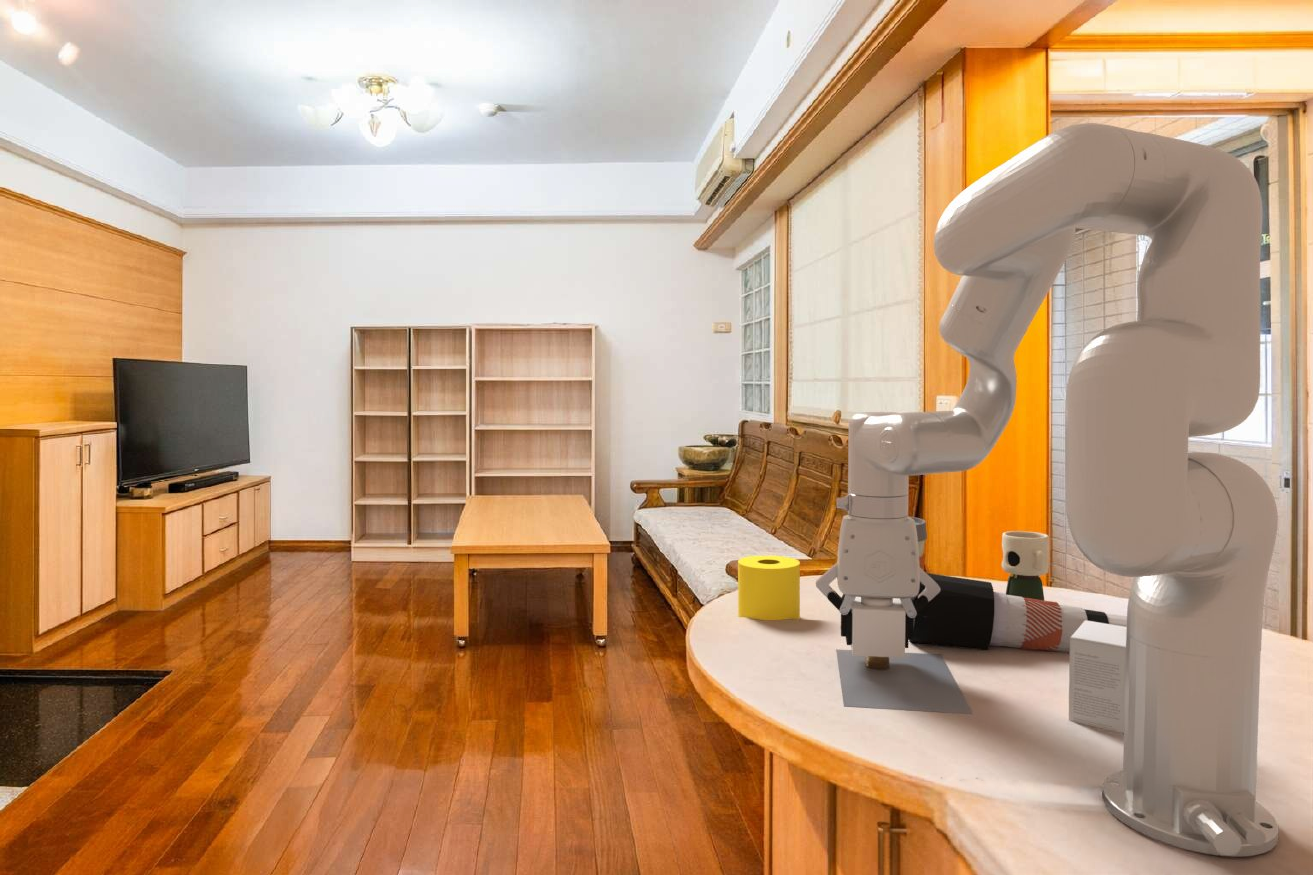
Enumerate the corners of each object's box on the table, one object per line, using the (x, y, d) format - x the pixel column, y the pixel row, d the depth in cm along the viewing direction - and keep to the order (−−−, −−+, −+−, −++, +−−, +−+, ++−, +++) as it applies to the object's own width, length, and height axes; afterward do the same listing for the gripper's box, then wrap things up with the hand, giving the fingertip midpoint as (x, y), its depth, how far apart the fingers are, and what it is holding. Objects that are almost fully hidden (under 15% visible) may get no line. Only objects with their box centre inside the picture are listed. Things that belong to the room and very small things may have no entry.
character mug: (988, 603, 136) (989, 529, 136) (1029, 602, 137) (1030, 528, 136) (1019, 621, 126) (1020, 540, 125) (1063, 620, 126) (1064, 540, 125)
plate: (972, 724, 87) (973, 713, 87) (843, 716, 90) (843, 705, 90) (941, 662, 107) (941, 654, 107) (836, 657, 109) (836, 649, 109)
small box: (1082, 707, 92) (1084, 618, 91) (1137, 719, 88) (1140, 627, 87) (1066, 730, 85) (1068, 636, 85) (1125, 745, 82) (1128, 646, 81)
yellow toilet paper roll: (785, 631, 122) (785, 571, 121) (728, 621, 127) (727, 564, 127) (808, 615, 130) (808, 559, 130) (753, 607, 136) (753, 553, 135)
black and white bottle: (1173, 700, 104) (1198, 646, 99) (907, 656, 112) (918, 603, 107) (1153, 645, 113) (1175, 592, 108) (907, 608, 121) (916, 557, 115)
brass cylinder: (890, 670, 101) (890, 632, 100) (866, 669, 101) (866, 631, 101) (887, 662, 104) (888, 625, 103) (864, 661, 104) (864, 624, 104)
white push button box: (904, 657, 99) (905, 603, 98) (852, 655, 100) (853, 601, 100) (898, 641, 105) (899, 590, 105) (849, 639, 106) (850, 588, 106)
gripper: (810, 510, 99) (809, 649, 100) (953, 513, 96) (951, 656, 97) (809, 501, 107) (808, 631, 108) (942, 504, 103) (940, 637, 105)
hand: (876, 642), depth 103 cm, fingers closed on white push button box, 6 cm apart
